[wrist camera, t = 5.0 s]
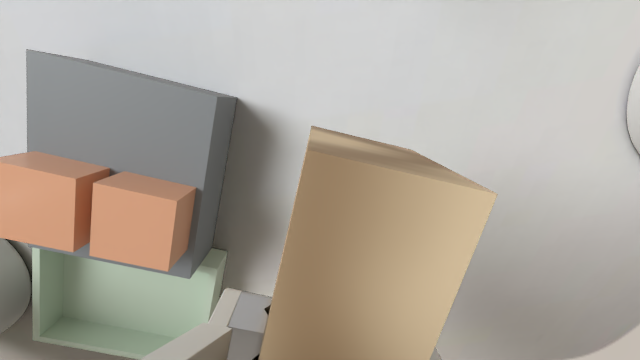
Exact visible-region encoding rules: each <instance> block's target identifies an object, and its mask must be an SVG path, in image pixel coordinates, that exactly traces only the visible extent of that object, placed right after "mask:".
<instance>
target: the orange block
mask: <svg viewBox="0 0 640 360" xmlns="http://www.w3.org/2000/svg"><path fill="white" fill-rule="evenodd" d="M109 173H110V168H108V167H104V166H99V165H95V164H90V163H86V162H82V161H77V160H73V159H68V158H64V157H59V156H55V155H50V154H46V153H42V152H37V151H32V152H26V153H21V154H15V155H9V156H4V157H0V238H4V239H9V240H14V241H19V242H24V243H29V244H34V245H39V246H44V247H49V248H54V249H59V250H63V251H68V252H75V251H76V250H78V249H80V248H81V247H83V246H84V245H86V244H88V243H89V242H90V233H91V214H92V194H93V183H94V182H96V181H99V180H102V179H104V178H107V177H109Z"/></svg>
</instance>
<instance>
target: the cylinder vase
mask: <svg viewBox="0 0 640 360" xmlns="http://www.w3.org/2000/svg"><path fill="white" fill-rule="evenodd" d="M30 297H31V280H30V276H29V272H28V270H27V267H26V265H25V263H24V261H23V259H22V258H21V256H20V255H19V254H18V252H17V251H16V250H15V249H14V247H13V246H12V245H11V244H10V243H9V242H8V241H6V240H5V239H4V238H0V334H1V333H2V332H3V331H5V330H6V329H8V328H9V327H10V326H12V325H13V324H14V323H15V322H16V321H17V320H18V319H19V318H20V317H21V316H22V315H23V313H24V312H25V310H26V308H27V306H28V304H29V301H30Z"/></svg>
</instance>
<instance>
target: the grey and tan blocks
mask: <svg viewBox="0 0 640 360" xmlns="http://www.w3.org/2000/svg"><path fill="white" fill-rule="evenodd" d="M497 195H498V194H496V193H494V192H493V191H491V190H489V189H487V188H485V187H483V186H481V185H479V184H477V183H475V182H473V181H471V180H469V179H467V178H465V177H463V176H461V175H459V174H457V173H455V172H454V171H452V170H450V169H448V168H446V167H444V166H442V165H440V164H438V163H436V162H434V161H432V160H430V159H428V158H426V157H424V156H422V155H420V154H418V153H417V152H415V151H413V150H410V149H406V148H402V147H398V146H394V145H389V144H385V143H381V142H377V141H373V140H369V139H364V138H360V137H356V136H352V135H348V134H344V133H339V132H335V131H331V130H327V129H323V128H319V127H315V126H311V131H310V135H309V140H308V144H307V148H306V153H305V157H304V161H303V166H302V170H301V175H300V179H299V183H298V188H297V192H296V196H295V201H294V205H293V210H292V214H291V218H290V223H289V227H288V232H287V236H286V240H285V245H284V249H283V253H282V258H281V262H280V267H279V271H278V275H277V280H276V284H275V289H274V293H273V297H272V302H271V306H270V310H269V315H268V319H267V324H266V328H265V333H264V337H263V341H262V346H261V350H260V355H259V359H258V360H430V358H431V355H432V353H433V350H434V348H435V346H436V343H437V341H438V338H439V336H440V333H441V331H442V328H443V326H444V324H445V321H446V319H447V316H448V314H449V311H450V309H451V307H452V304H453V302H454V299H455V297H456V294H457V292H458V290H459V287H460V285H461V282H462V280H463V277H464V275H465V273H466V270H467V268H468V265H469V263H470V260H471V258H472V256H473V253H474V251H475V248H476V246H477V243H478V241H479V239H480V236H481V234H482V231H483V229H484V226H485V224H486V222H487V219H488V217H489V214H490V212H491V209H492V207H493V205H494V202H495V200H496V197H497Z"/></svg>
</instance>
